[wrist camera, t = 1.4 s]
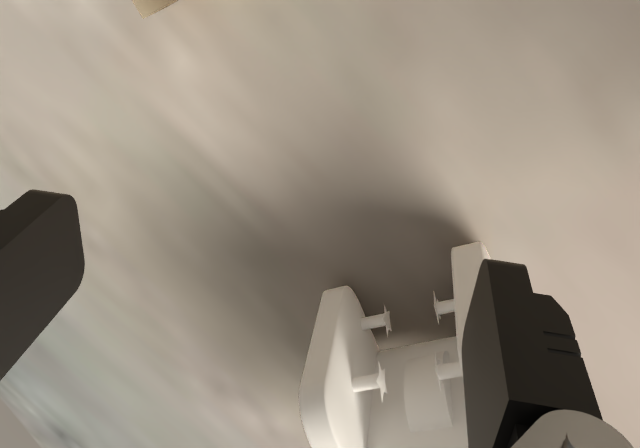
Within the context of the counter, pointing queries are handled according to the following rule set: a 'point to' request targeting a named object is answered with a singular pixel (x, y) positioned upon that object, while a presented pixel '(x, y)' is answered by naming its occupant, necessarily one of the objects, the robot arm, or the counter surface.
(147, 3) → the keyhole board
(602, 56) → the counter surface
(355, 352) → the cable organizer
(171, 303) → the counter surface
